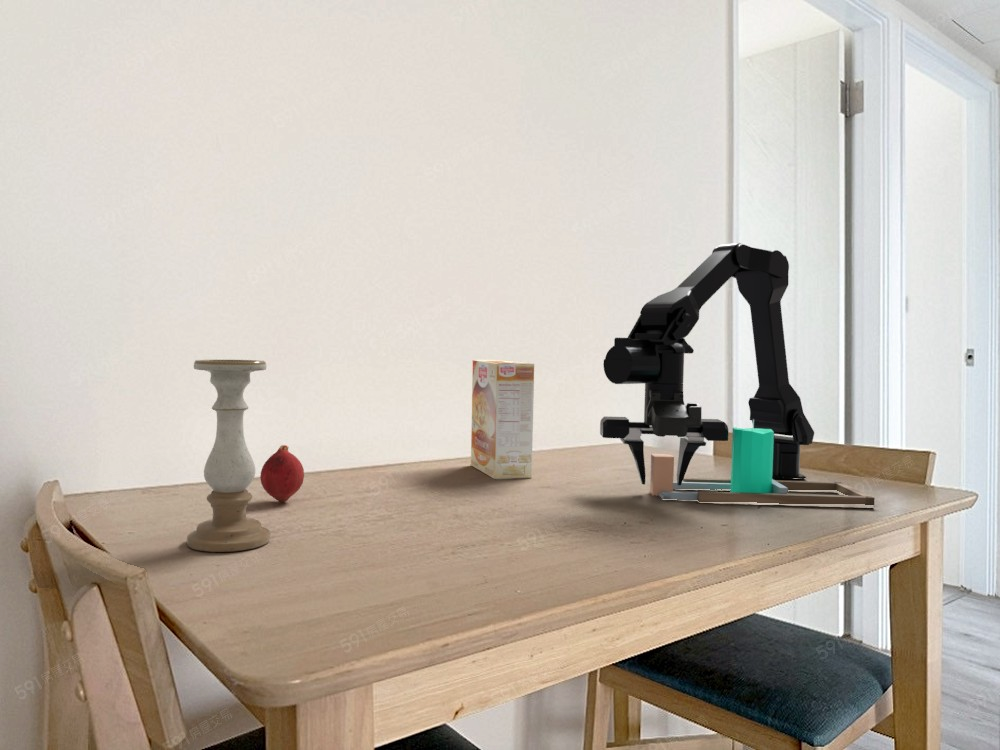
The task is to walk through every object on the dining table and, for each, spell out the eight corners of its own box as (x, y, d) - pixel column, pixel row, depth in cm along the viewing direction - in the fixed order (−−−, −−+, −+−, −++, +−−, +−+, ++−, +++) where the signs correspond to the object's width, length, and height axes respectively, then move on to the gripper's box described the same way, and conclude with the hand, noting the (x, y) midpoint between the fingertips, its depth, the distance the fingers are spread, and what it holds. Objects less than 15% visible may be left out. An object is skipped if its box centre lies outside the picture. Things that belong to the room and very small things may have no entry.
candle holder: (241, 529, 95) (243, 359, 94) (286, 542, 90) (288, 361, 89) (171, 543, 88) (172, 359, 87) (215, 558, 83) (216, 362, 82)
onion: (291, 507, 108) (292, 448, 107) (252, 505, 109) (253, 446, 108) (310, 499, 113) (311, 443, 113) (272, 497, 114) (273, 441, 114)
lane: (682, 487, 129) (683, 477, 129) (840, 492, 128) (840, 482, 128) (699, 503, 116) (699, 492, 116) (874, 508, 115) (874, 497, 115)
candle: (729, 499, 120) (731, 419, 119) (731, 492, 126) (734, 416, 125) (771, 503, 118) (774, 422, 117) (771, 495, 124) (774, 418, 123)
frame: (646, 488, 128) (648, 450, 127) (768, 491, 127) (769, 454, 127) (656, 500, 118) (657, 459, 118) (787, 504, 117) (788, 463, 117)
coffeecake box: (469, 465, 147) (471, 359, 146) (506, 464, 149) (508, 359, 148) (492, 479, 133) (495, 362, 132) (533, 478, 135) (536, 362, 134)
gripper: (607, 384, 114) (604, 493, 115) (739, 387, 114) (735, 496, 114) (601, 380, 125) (598, 479, 126) (721, 383, 125) (717, 482, 125)
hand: (661, 484), depth 123 cm, fingers open, 5 cm apart
